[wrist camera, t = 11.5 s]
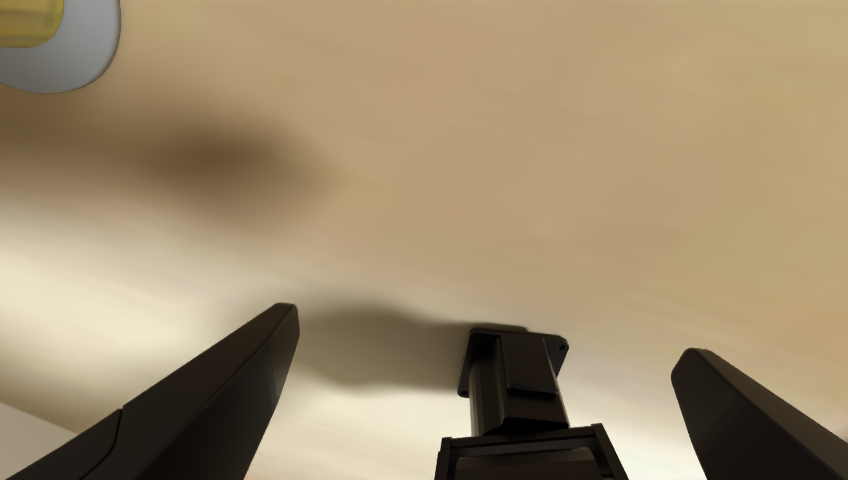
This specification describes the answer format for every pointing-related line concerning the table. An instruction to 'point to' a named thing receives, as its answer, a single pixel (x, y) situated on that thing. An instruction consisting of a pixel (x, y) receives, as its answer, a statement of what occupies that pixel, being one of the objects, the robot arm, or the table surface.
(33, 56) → the mat
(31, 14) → the vase
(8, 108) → the table surface
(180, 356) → the table surface
